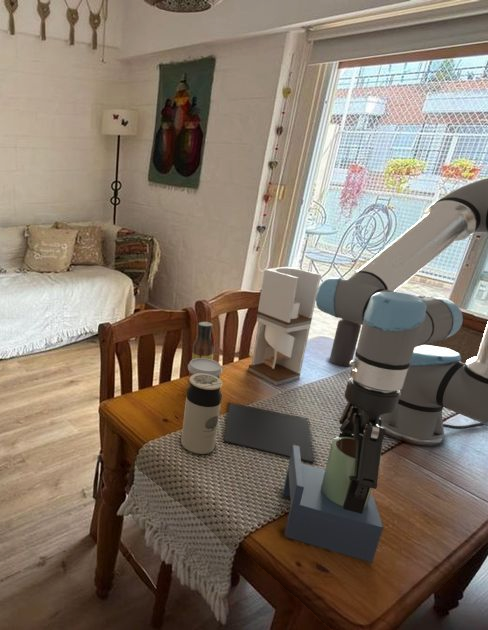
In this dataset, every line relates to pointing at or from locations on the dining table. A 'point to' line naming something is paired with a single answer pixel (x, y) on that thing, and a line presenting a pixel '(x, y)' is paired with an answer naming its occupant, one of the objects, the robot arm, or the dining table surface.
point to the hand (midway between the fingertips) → (346, 485)
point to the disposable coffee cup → (204, 367)
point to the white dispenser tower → (283, 323)
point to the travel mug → (201, 413)
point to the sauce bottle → (203, 342)
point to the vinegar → (344, 342)
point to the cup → (340, 470)
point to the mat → (268, 431)
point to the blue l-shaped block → (327, 515)
